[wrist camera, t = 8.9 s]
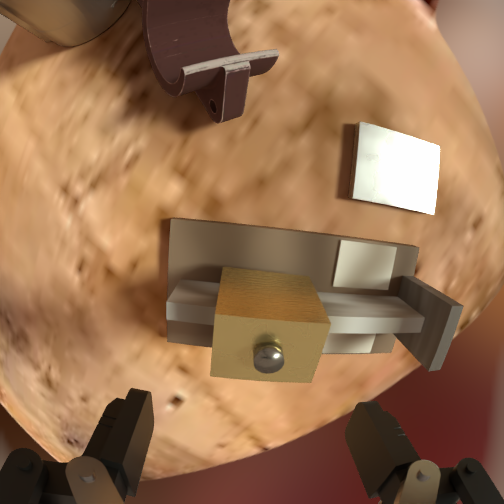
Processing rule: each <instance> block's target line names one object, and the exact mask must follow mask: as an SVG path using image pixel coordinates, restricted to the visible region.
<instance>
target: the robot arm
mask: <svg viewBox="0 0 504 504" xmlns="http://www.w3.org/2000/svg"><path fill="white" fill-rule="evenodd" d="M130 1H131V0H0V14H1V15H3V16H5V17H7V18H8V19H10V20H12V21H13V22H15V23H16V24H18V25H20V26H21V27H23V28H24V29H26V30H28V31H29V32H31V33H32V34H34V35H36V36H37V37H39V38H40V39H42V40H43V41H45V42H49V41H53V42H55V43H56V44H58V45H60V46H64V47H71V46H75V45H80V44H82V43H85V42H87V41H89V40H91V39H93V38H95V37H96V36H98V35H99V34H101V33H102V32H104V31H105V30H106V29H108V28H109V27H110V26H111V25H112V24H113V23H115V21H116V20H117V19H118V18H119V17H120V16H121V15H122V14H123V12H124V11H125V10H126V8H127V6H128V5H129V3H130ZM98 423H99V424H98V425H97V427H96V429H95V431H94V433H93V435H92V437H91V439H90V441H89V443H88V445H87V447H86V449H85V451H84V453H83V455H82V456H80V457H76V458H74V459H72V460H71V461H70V462H68V463H60V462H52V461H45V460H41V458H40V456H39V455H38V454H37V453H36V452H34V451H33V450H30V449H27V448H19V449H16V450H14V451H12V452H11V453H10V454H9V456H8V458H7V459H6V461H5V463H4V465H3V467H2V469H1V471H0V504H124V502H125V498H126V495H129V496H134V497H135V496H136V492H137V488H138V484H139V480H140V476H141V473H142V469H143V465H144V462H145V458H146V454H147V451H148V447H149V444H150V440H151V437H152V433H153V428H154V414H153V405H152V396H151V392H149V391H144V390H139V389H134V388H131V389H130V390H129V392H128V394H127V396H126V399H125V400H124V399H120V398H116V399H114V400H113V401H112V402H111V403H109V404H108V405H107V407H106V409H105V411H104V413H103V415H102V417H101V418H100V420H99V422H98ZM345 439H346V442H347V445H348V447H349V449H350V452H351V454H352V457H353V459H354V462H355V464H356V467H357V470H358V472H359V475H360V477H361V479H362V482H363V485H364V487H365V490H366V492H367V495H368V497H369V498H374V497H377V496H379V497H380V499H381V501H380V502H379V503H378V504H457V503H456V502H458V500H460V499H461V501H462V503H463V504H504V500H503V498H502V497H501V495H500V493H499V491H498V490H497V488H496V487H495V485H494V483H493V482H492V480H491V479H490V477H489V475H488V474H487V472H486V471H485V469H484V468H483V466H482V465H481V463H479V461H477V460H475V459H473V458H464V459H462V460H461V461H460V462H459V463H458V464H457V465H456V466H455V467H451V468H438V467H437V465H435V464H434V463H432V462H430V461H427V460H421V459H420V457H419V456H418V454H417V452H416V451H415V449H414V447H413V446H412V444H411V442H410V441H409V439H408V438H407V436H406V435H405V433H404V431H403V430H402V429H401V426H400V425H399V423H398V421H397V420H396V418H395V417H393V416H392V415H391V414H390V413H388V412H387V411H383V410H382V408H381V407H380V405H379V403H378V402H377V401H369V402H359V403H358V404H357V405H356V407H355V409H354V411H353V414H352V416H351V418H350V420H349V422H348V424H347V427H346V430H345Z"/></svg>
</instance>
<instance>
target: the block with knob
mask: <svg viewBox="0 0 504 504" xmlns="http://www.w3.org/2000/svg"><path fill="white" fill-rule="evenodd" d="M330 326H331V322H330V320H329V318H328V316H327V313H326V311H325V309H324V307H323V305H322V303H321V300H320V298H319V296H318V294H317V292H316V290H315V288H314V286H313V283H312V281H311V279H310V277H309V276H302V275H293V274H284V273H274V272H265V271H257V270H248V269H239V268H231V267H223V270H222V275H221V281H220V287H219V293H218V299H217V305H216V311H215V320H214V332H213V344H212V358H211V372H210V376H213V377H222V378H231V379H242V380H255V381H271V382H298V383H311V381H312V379H313V376H314V373H315V371H316V368H317V365H318V362H319V359H320V356H321V354H322V351H323V348H324V345H325V342H326V339H327V336H328V333H329V330H330Z"/></svg>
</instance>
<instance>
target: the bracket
mask: <svg viewBox="0 0 504 504" xmlns="http://www.w3.org/2000/svg"><path fill="white" fill-rule="evenodd" d="M137 2H138V3H139V5H140V6H141V8H142V25H143V34H144V40H145V45H146V50H147V54H148V57H149V60H150V63H151V66H152V69H153V71H154V73H155V76H156V78H157V80H158V81H159V83H160V85H161V86H162V88H163V89H164V90H165V92H166V93H167V94H168V95H170V96H172V97H177V96H180V95H183V94H186V93H190V92H193V91H195V92H196V94H197V96H198V97H199V99H200V101H201V102H202V104H203V105H204V107H205V109H206V110H207V112H208V114H209V115H210V117H211V119H212V120H213V121H214V122H215V123H222V122H225V121H228V120H231V119H234V118H237V117H240V116H242V114H243V112H244V106H245V100H246V93H247V87H248V81H249V77H251V76H256V75H260V74H263V73H265V72H267V71H268V70H270V69H271V68H272V67H273V65H274V64H275V62H276V61H277V59H278V57H279V52H278V50H277V49H273V50H265V51H258V52H251V53H245V54H240V53H239V52H238V51H237V49H236V48H235V46H234V44H233V42H232V39H231V37H230V33H229V29H228V21H227V13H228V7H229V3H230V0H137Z"/></svg>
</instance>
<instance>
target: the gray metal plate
mask: <svg viewBox="0 0 504 504" xmlns="http://www.w3.org/2000/svg"><path fill="white" fill-rule="evenodd" d="M439 154H440V147H439V146H437V145H434V144H431V143H428V142H426V141H423V140H420V139H417V138H414V137H411V136H408V135H405V134H402V133H399V132H396V131H392V130H389V129H386V128H382V127H379V126H375V125H372V124H368V123H364V122H358V123H356V124H355V134H354V146H353V157H352V167H351V177H350V186H349V194H348V198H353V199H358V200H364V201H370V202H375V203H380V204H385V205H390V206H395V207H400V208H405V209H410V210H414V211H419V212H424V213H428V214H433V215H434V209H435V201H436V192H437V182H438V171H439Z"/></svg>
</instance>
